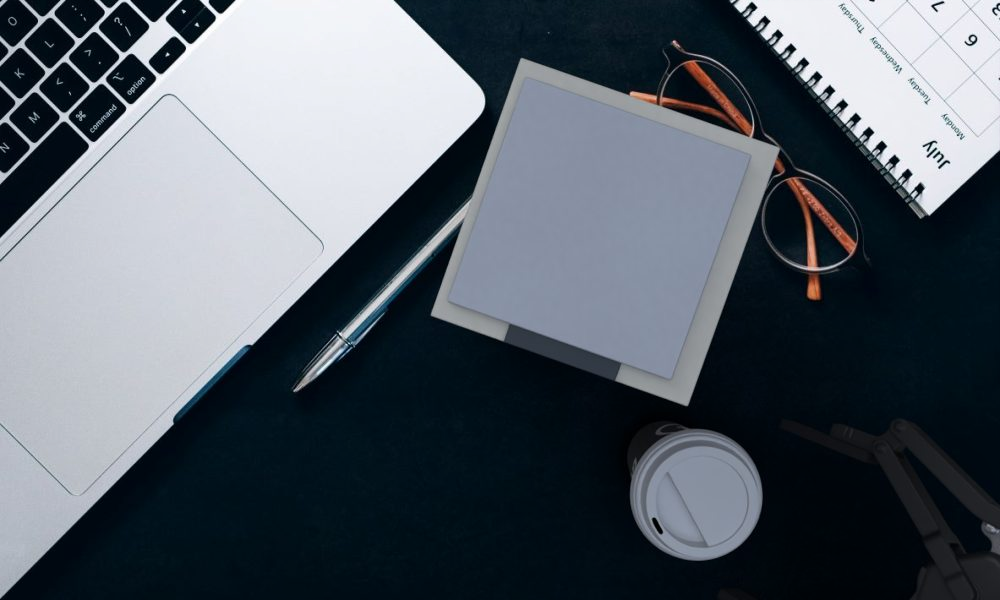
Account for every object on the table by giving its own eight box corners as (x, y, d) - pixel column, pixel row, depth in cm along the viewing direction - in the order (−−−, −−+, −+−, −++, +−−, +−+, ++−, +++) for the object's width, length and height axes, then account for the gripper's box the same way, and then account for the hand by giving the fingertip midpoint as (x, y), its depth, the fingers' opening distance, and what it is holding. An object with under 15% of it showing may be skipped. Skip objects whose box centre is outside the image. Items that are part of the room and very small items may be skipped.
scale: (678, 400, 44) (691, 409, 41) (435, 314, 44) (428, 316, 41) (766, 155, 44) (786, 144, 40) (520, 69, 44) (520, 52, 41)
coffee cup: (604, 409, 72) (627, 441, 57) (712, 398, 72) (763, 427, 57) (615, 516, 72) (641, 576, 57) (723, 505, 72) (777, 562, 57)
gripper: (1022, 855, 49) (725, 658, 65) (1167, 470, 49) (833, 363, 64) (990, 890, 44) (675, 666, 59) (1152, 459, 44) (792, 345, 59)
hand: (757, 509), depth 62 cm, fingers open, 13 cm apart
